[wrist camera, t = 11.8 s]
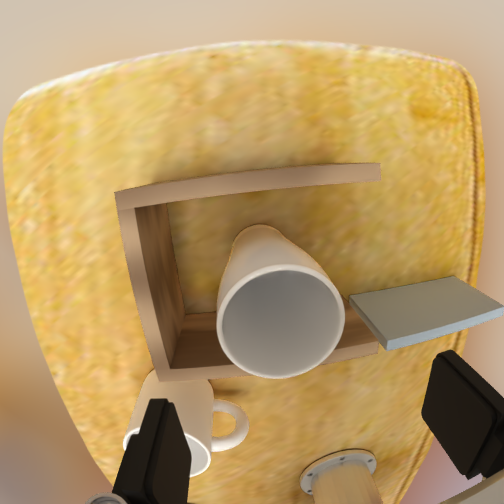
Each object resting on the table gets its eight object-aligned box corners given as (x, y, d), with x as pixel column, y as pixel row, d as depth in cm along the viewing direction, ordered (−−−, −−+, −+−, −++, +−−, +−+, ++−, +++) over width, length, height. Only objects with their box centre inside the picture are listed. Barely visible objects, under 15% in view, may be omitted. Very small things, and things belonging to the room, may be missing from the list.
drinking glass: (300, 220, 30) (361, 271, 15) (288, 288, 31) (329, 382, 17) (227, 210, 29) (222, 255, 14) (219, 281, 31) (209, 376, 16)
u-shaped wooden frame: (341, 305, 32) (377, 353, 23) (176, 326, 32) (159, 382, 22) (335, 163, 28) (380, 162, 19) (150, 183, 28) (114, 192, 19)
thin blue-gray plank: (349, 304, 32) (386, 351, 23) (349, 295, 32) (387, 340, 23) (452, 283, 32) (502, 315, 23) (453, 275, 32) (504, 306, 23)
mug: (249, 365, 33) (255, 432, 23) (244, 417, 35) (248, 482, 25) (141, 357, 32) (115, 420, 22) (148, 410, 35) (131, 472, 25)
